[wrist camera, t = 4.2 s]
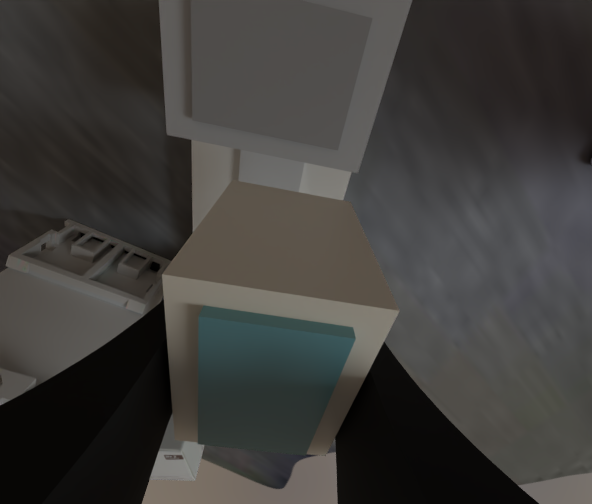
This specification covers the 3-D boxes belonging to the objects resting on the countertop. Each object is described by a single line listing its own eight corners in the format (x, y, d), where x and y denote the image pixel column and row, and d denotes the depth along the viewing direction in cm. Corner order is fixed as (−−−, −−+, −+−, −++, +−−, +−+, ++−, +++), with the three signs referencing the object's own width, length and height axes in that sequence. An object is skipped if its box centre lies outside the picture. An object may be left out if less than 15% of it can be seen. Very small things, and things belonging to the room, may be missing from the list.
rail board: (390, 22, 13) (462, -23, 7) (304, 318, 24) (304, 396, 18) (198, -26, 12) (103, -120, 6) (198, 301, 23) (162, 378, 17)
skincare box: (164, 401, 31) (130, 481, 25) (148, 369, 28) (105, 451, 22) (217, 402, 31) (196, 483, 25) (207, 369, 28) (180, 453, 22)
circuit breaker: (57, 338, 26) (-179, 589, 13) (68, 218, 19) (-402, 501, 6) (138, 363, 28) (-2, 605, 15) (175, 262, 21) (-25, 550, 8)
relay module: (350, 201, 10) (404, 321, 5) (315, 315, 13) (326, 467, 8) (232, 179, 10) (154, 284, 5) (224, 302, 13) (170, 452, 8)
